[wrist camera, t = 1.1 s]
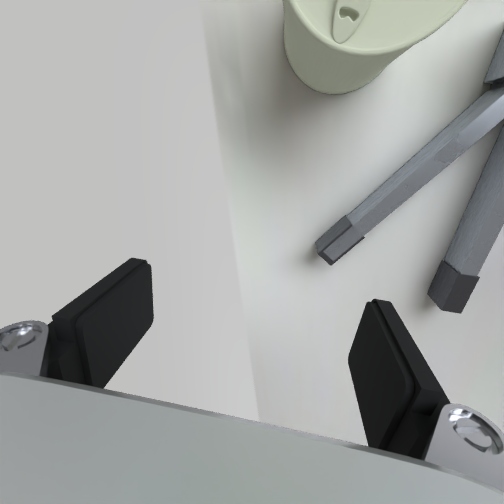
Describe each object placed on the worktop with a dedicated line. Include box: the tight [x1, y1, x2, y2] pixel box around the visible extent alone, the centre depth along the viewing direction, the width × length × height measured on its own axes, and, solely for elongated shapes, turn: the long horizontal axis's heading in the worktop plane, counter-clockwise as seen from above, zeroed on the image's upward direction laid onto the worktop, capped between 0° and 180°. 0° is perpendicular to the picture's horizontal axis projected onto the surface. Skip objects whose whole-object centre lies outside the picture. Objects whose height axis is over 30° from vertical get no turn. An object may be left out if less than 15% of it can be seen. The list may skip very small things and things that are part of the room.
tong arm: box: [315, 87, 504, 265], centre depth 23 cm, size 18×2×3 cm, turn 139°
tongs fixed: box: [427, 32, 504, 314], centre depth 22 cm, size 23×5×3 cm, turn 174°
